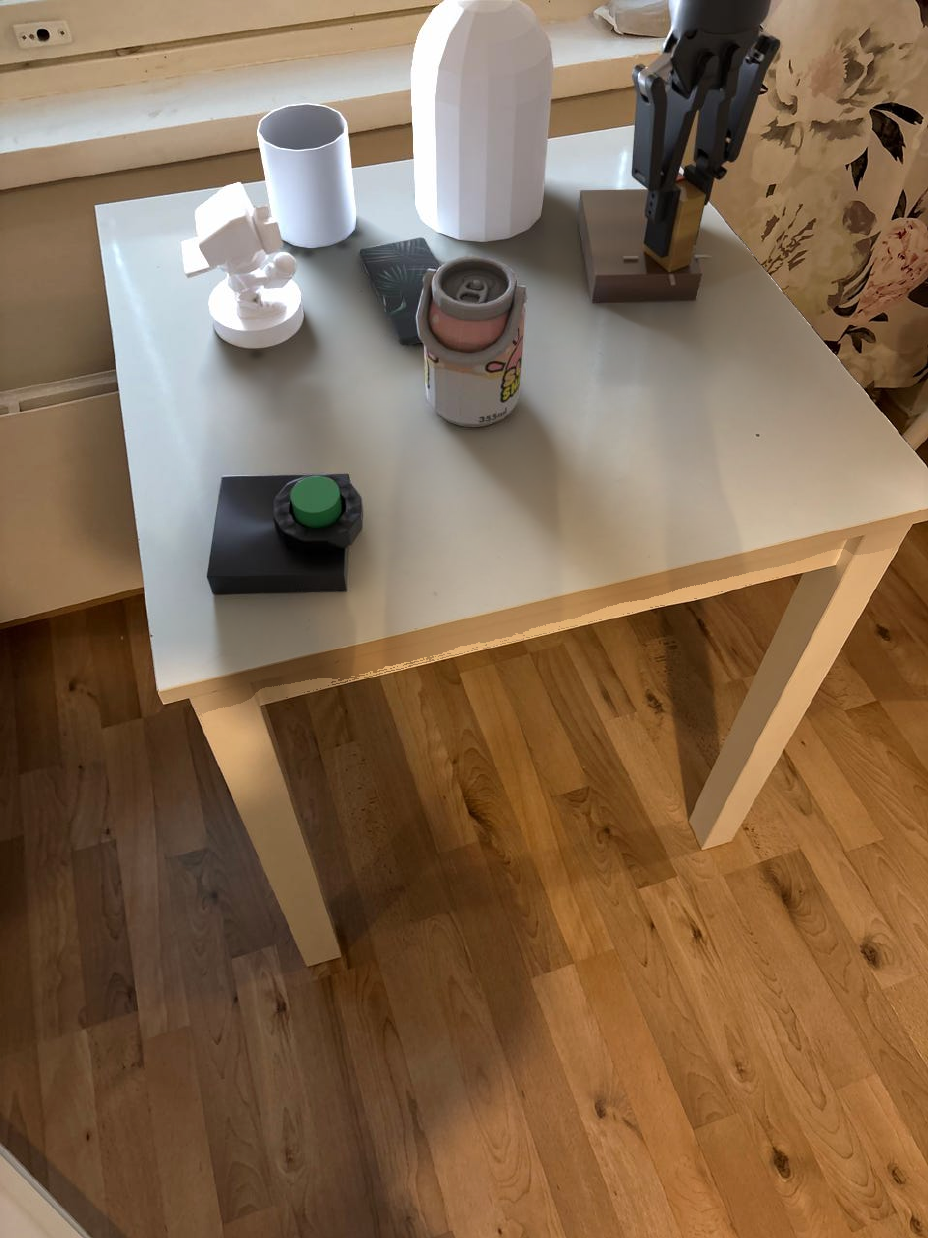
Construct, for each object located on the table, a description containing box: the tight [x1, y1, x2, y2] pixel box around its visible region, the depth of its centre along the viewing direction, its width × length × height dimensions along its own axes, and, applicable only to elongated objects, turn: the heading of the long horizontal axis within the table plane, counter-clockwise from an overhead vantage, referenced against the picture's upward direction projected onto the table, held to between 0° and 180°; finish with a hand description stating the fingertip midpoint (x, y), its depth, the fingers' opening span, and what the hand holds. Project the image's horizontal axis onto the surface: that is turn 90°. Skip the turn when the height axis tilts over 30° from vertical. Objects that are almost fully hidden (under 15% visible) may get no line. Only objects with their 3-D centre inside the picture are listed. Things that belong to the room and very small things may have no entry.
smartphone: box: [358, 236, 440, 347], centre depth 90 cm, size 7×1×15 cm
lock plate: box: [576, 188, 711, 303], centre depth 93 cm, size 16×11×3 cm
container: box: [410, 0, 555, 243], centre depth 91 cm, size 13×13×20 cm
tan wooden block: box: [644, 172, 706, 272], centre depth 87 cm, size 4×2×7 cm, turn 31°
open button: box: [291, 476, 342, 528], centre depth 70 cm, size 4×4×2 cm
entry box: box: [206, 472, 364, 595], centre depth 72 cm, size 10×11×4 cm
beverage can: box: [416, 255, 528, 428], centre depth 78 cm, size 9×8×12 cm
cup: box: [256, 103, 357, 249], centre depth 93 cm, size 8×8×10 cm
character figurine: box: [181, 182, 305, 349], centre depth 84 cm, size 9×10×12 cm
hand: (669, 243), depth 88 cm, fingers closed on tan wooden block, 2 cm apart
